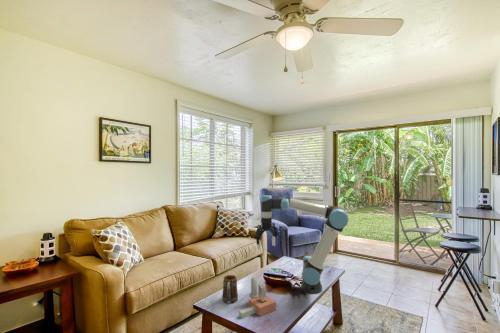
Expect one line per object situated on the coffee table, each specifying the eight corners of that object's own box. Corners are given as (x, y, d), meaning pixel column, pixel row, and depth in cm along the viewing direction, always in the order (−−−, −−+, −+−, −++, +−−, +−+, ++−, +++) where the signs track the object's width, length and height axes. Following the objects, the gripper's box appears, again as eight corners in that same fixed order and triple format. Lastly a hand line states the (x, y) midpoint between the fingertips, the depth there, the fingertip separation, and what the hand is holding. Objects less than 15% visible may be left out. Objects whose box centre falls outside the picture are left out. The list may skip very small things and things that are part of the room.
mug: (223, 295, 177) (223, 274, 177) (238, 296, 176) (238, 274, 177) (219, 308, 161) (219, 284, 161) (236, 308, 161) (236, 284, 161)
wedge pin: (263, 306, 163) (263, 282, 163) (266, 308, 160) (266, 284, 161) (257, 308, 160) (257, 284, 161) (260, 311, 158) (260, 286, 158)
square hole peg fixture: (258, 298, 173) (258, 274, 173) (275, 309, 159) (275, 283, 159) (230, 309, 160) (230, 283, 160) (246, 322, 146) (246, 294, 146)
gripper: (276, 214, 193) (276, 243, 193) (249, 218, 178) (249, 249, 178) (282, 216, 187) (283, 245, 186) (255, 220, 172) (255, 251, 172)
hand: (266, 247), depth 182 cm, fingers open, 13 cm apart
